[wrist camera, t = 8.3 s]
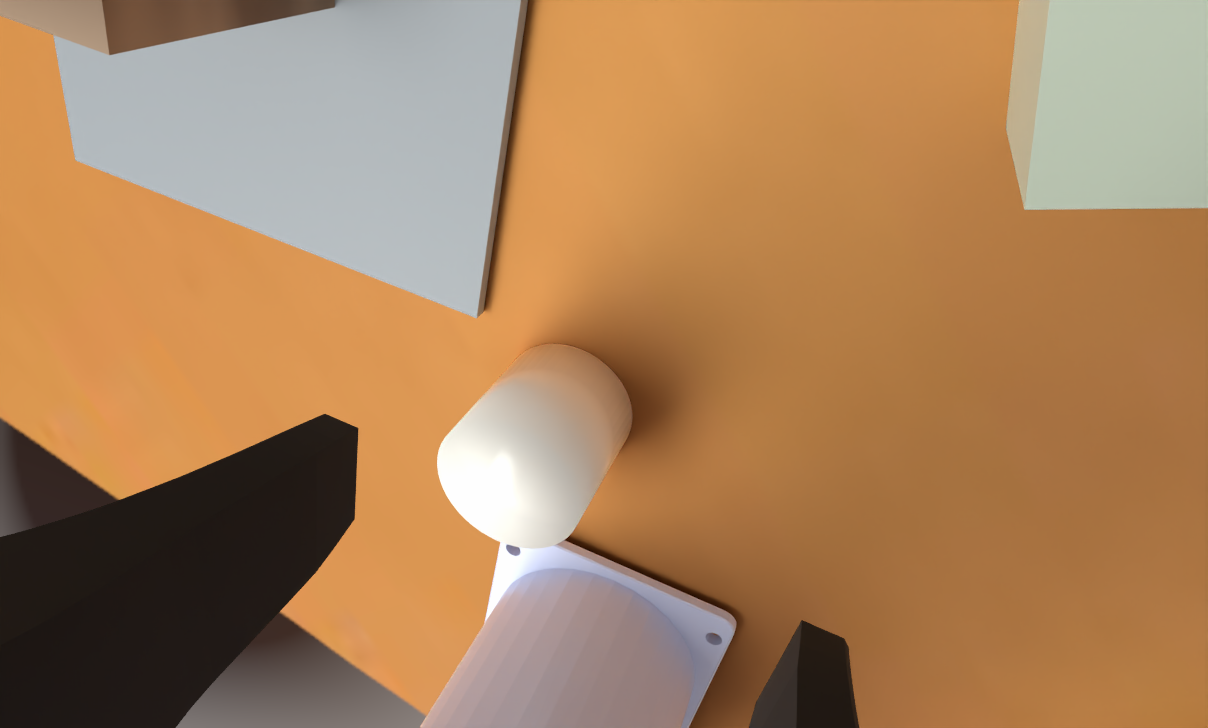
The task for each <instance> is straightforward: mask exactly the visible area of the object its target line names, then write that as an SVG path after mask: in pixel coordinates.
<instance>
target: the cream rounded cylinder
mask: <svg viewBox="0 0 1208 728" xmlns="http://www.w3.org/2000/svg"><path fill="white" fill-rule="evenodd" d="M631 426H632V407H631V403H630V399H629V396H628V394H627V391H626V390H625V388H624V386H623V384H622V382H621V381H620V380H619V378H618V377H617V376H616V374H615V373H614V372H613V371H612V370H611V369H610V368H609V367H608V366H607V365H606V364H605V363H603V362H602V361H601V360H599V359H598V358H597V357H595V356H593V355H592V354H590V353H588V352H586V351H584V350H582V349H579V348H576V347H573V346H569V345H564V344H543V345H538V346H535V347H532V348H530V349H528V350H526V351H524V352H523V353H522V354H520V355H519V356H518V357H517V358H516V359H515V360H514V361H513V363H512V364H511V365H510V366H509V367H508V368H507V369H506V370H505V371H504V373H503V374H502V375H501V376H500V377H499V378H498V379H497V380H496V381H495V383H494V384H493V385H492V386H491V387H490V388H489V389H488V390H487V391H486V393H485V394H484V395H483V396H482V397H481V398H480V399H479V400H478V401H477V403H476V404H475V405H474V406H473V407H472V408H471V409H470V410H469V411H468V413H467V414H466V415H465V416H464V417H463V418H462V419H461V420H460V421H459V423H458V424H457V425H456V426H455V427H454V428H453V429H452V430H451V431H450V432H449V434H448V435H447V436H446V437H445V439H444V440H443V442H442V444H441V446H440V448H439V452H438V458H437V467H438V474H439V478H440V482H441V484H442V487H443V489H444V491H445V493H446V495H447V497H448V498H449V500H450V502H451V503H452V505H453V506H454V507H455V508H456V510H457V511H458V512H459V513H460V514H461V515H462V516H463V517H464V518H465V519H466V520H467V521H468V522H469V523H470V524H471V525H473V526H474V527H475V528H477V529H478V530H479V531H481V532H483V533H484V534H486V535H487V536H489V537H491V538H493V539H495V540H497V541H500V542H502V543H505V544H508V545H512V546H515V547H521V548H529V549H537V548H545V547H550V546H553V545H556V544H558V543H560V542H562V541H563V540H565V539H566V538H567V537H569V535H570V534H571V533H572V532H573V531H574V529H575V528H576V526H577V524H578V522H579V521H580V519H581V517H582V516H583V514H584V512H585V510H586V509H587V507H588V505H589V503H590V502H591V500H592V498H593V496H594V495H595V493H596V491H597V489H598V488H599V486H600V484H601V483H602V481H603V479H604V477H605V476H606V474H607V472H608V470H609V469H610V467H611V465H612V463H613V462H614V460H615V458H616V457H617V455H618V453H619V451H620V450H621V448H622V446H623V444H624V443H625V441H626V439H627V437H628V435H629V433H630V430H631Z"/></svg>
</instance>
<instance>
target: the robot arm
mask: <svg viewBox="0 0 1208 728" xmlns="http://www.w3.org/2000/svg"><path fill="white" fill-rule="evenodd" d="M357 446H358V428H357V427H354V426H352V425H350V424H347V423H345V422H343V421H340V420H338V419H336V418H333V417H331V416H329V415H327V414H323V415H321V416H319V417H316V418H314V419H312V420H309V421H307V422H305V423H302V424H300V425H298V426H296V427H293V428H291V429H289V430H287V431H284V432H282V433H280V434H278V435H275V436H273V437H271V438H269V439H266V440H264V441H262V442H260V443H257V444H255V445H253V446H251V447H248V448H246V449H244V450H242V451H239V452H237V453H235V454H233V455H230V456H228V457H226V458H223V459H221V460H219V461H216V462H214V463H212V464H209V465H207V466H205V467H202V468H200V469H197V470H195V471H193V472H190V473H188V474H186V475H183V476H181V477H178V478H176V479H173V480H171V481H168V482H165V483H163V484H160V485H158V486H155V487H152V488H150V489H147V490H145V491H142V492H139V493H137V494H134V495H132V496H129V497H126V498H124V499H121V500H119V501H116V502H113V503H111V504H107V505H105V506H102V507H99V508H96V509H93V510H90V511H87V512H84V513H81V514H78V515H75V516H72V517H68V518H65V519H62V520H59V521H55V522H52V523H49V524H46V525H42V526H39V527H36V528H32V529H29V530H26V531H22V532H18V533H15V534H11V535H7V536H3V537H0V728H176V726H177V725H178V724H179V722H180V721H181V720H182V719H183V717H184V716H185V715H186V713H187V712H188V711H189V710H190V708H191V707H192V706H193V705H194V704H195V702H196V701H197V700H198V699H199V698H200V697H201V696H202V694H203V693H204V692H205V691H206V690H207V688H209V686H210V685H211V684H212V683H213V682H214V681H215V680H216V678H218V676H219V675H220V674H221V673H222V672H223V671H224V670H225V669H226V668H227V667H228V666H229V665H230V664H231V663H232V662H233V660H234V659H235V658H236V657H237V656H238V655H239V654H240V653H241V652H242V651H243V650H244V649H245V648H246V647H247V646H248V645H249V644H250V642H251V641H252V640H253V639H254V638H255V637H256V636H257V635H258V634H259V633H260V632H261V631H262V630H263V629H264V628H265V627H266V625H267V624H268V623H269V622H270V621H271V620H272V619H273V618H274V617H275V616H276V615H277V614H278V613H279V612H280V611H281V610H282V608H283V607H284V606H285V605H286V604H287V603H288V602H289V601H290V600H291V599H292V598H293V597H294V595H295V594H296V593H297V592H298V591H299V590H300V589H301V588H302V587H303V586H304V585H305V584H306V583H307V581H308V580H309V579H310V578H311V577H312V576H313V575H314V574H315V573H316V571H317V570H318V569H319V567H320V566H321V565H322V563H323V562H324V561H325V559H326V558H327V557H328V555H329V554H330V553H331V551H332V550H333V549H334V547H335V546H336V545H337V543H338V542H339V540H340V539H341V537H342V536H343V535H344V533H345V532H346V530H347V529H348V528H349V526H350V525H351V523H352V522H353V520H354V519H355V495H356V470H357ZM736 624H737V623H736V620H735V618H734V617H733V616H732V615H731V614H730V613H728V612H727V611H725V610H723V609H720V608H718V607H716V606H713V605H711V604H709V603H707V602H704V601H702V600H700V599H697V598H695V597H693V596H691V595H688V594H686V593H684V592H681V591H679V590H677V589H675V588H672V587H670V586H668V585H665V584H663V583H661V582H659V581H656V580H654V579H652V578H649V577H647V576H645V575H643V574H640V573H638V572H636V571H634V570H631V569H629V568H627V567H624V566H622V565H620V564H618V563H615V562H613V561H611V560H608V559H606V558H604V557H602V556H599V555H597V554H595V553H592V552H590V551H588V550H586V549H583V548H581V547H579V546H576V545H574V544H572V543H570V542H567V541H565V540H563V541H562V542H560V543H558V544H556V545H553V546H550V547H545V548H537V549H529V548H521V547H515V546H512V545H508V544H505V543H502V542H500V547H499V552H498V557H497V562H496V567H495V573H494V578H493V583H492V588H491V593H490V598H489V603H488V608H487V613H486V618H485V623H484V625H483V627H482V628H481V630H480V632H479V633H478V635H477V636H476V638H475V640H474V641H473V643H472V644H471V646H470V648H469V649H468V651H467V652H466V654H465V656H464V657H463V659H462V660H461V662H460V664H459V665H458V667H457V668H456V670H455V672H454V673H453V675H452V676H451V678H450V680H449V681H448V683H447V684H446V686H445V688H444V689H443V691H442V692H441V694H440V696H439V697H438V699H437V701H436V702H435V704H434V705H433V707H432V709H431V710H430V712H429V713H428V715H427V717H426V718H425V720H424V721H423V723H422V725H421V726H420V728H689V726H690V724H691V722H692V720H693V718H694V716H695V714H696V712H697V710H698V707H699V705H700V703H701V701H702V699H703V697H704V695H705V693H706V691H707V689H708V687H709V685H710V683H711V681H712V679H713V677H714V675H715V672H716V670H717V668H718V666H719V664H720V662H721V660H722V658H723V656H724V654H725V652H726V650H727V648H728V646H729V644H730V642H731V640H732V637H733V635H734V632H735V629H736ZM713 633H715V634H717V635H714V634H713ZM718 635H719V636H718ZM749 728H859V724H858V718H857V712H856V706H855V699H854V692H853V685H852V677H851V669H850V659H849V648H848V645H847V643H846V641H845V639H844V638H842V637H839V636H837V635H835V634H832V633H830V632H828V631H825V630H823V629H821V628H818V627H816V626H814V625H812V624H809V623H807V622H805V621H801V623H800V625H799V626H798V628H797V630H796V632H795V634H794V635H793V637H792V639H791V641H790V643H789V644H788V646H787V648H786V650H785V652H784V653H783V655H782V657H781V659H780V661H779V662H778V664H777V666H776V668H775V670H774V671H773V673H772V675H771V677H770V679H769V680H768V682H767V684H766V686H765V687H764V689H763V691H762V693H761V695H760V696H759V698H758V700H757V702H756V705H755V708H754V712H753V715H752V719H751V722H750V726H749Z"/></svg>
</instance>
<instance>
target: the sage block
mask: <svg viewBox="0 0 1208 728" xmlns="http://www.w3.org/2000/svg"><path fill="white" fill-rule="evenodd" d="M1006 131H1007V136H1008V140H1009V144H1010V149H1011V153H1012V157H1013V162H1014V166H1015V171H1016V175H1017V179H1018V184H1019V188H1020V193H1021V197H1022V201H1023V206H1024V210H1047V209H1156V208H1208V0H1019V7H1018V16H1017V26H1016V35H1015V45H1014V55H1013V64H1012V74H1011V83H1010V93H1009V102H1008V112H1007V121H1006Z"/></svg>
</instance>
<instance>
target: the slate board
mask: <svg viewBox="0 0 1208 728" xmlns="http://www.w3.org/2000/svg"><path fill="white" fill-rule="evenodd" d="M527 5H528V0H335V8H330V9H325V10H320V11H316V12H311V13H306V14H302V15H297V16H292V17H288V18H283V19H278V20H273V21H269V22H264V23H259V24H255V25H250V26H245V27H240V28H236V29H231V30H226V31H222V32H217V33H212V34H207V35H203V36H198V37H193V38H189V39H184V40H179V41H175V42H170V43H165V44H160V45H156V46H151V47H146V48H142V49H137V50H132V51H127V52H123V53H118V54H113V55H107V54H104V53H102V52H99V51H96V50H93V49H91V48H88V47H85V46H82V45H80V44H77V43H74V42H71V41H68V40H66V39H63V38H60V37H57V36H55V35H53V36H54V41H55V47H56V53H57V58H58V64H59V70H60V75H61V81H62V87H63V92H64V98H65V104H66V109H67V115H68V121H69V127H70V132H71V138H72V144H73V149H74V155H75V160H76V161H79V162H81V163H84V164H86V165H89V166H91V167H94V168H96V169H99V170H101V171H104V172H106V173H109V174H112V175H114V176H117V177H119V178H122V179H124V180H127V181H129V182H132V183H134V184H137V185H139V186H142V187H145V188H147V189H150V190H152V191H155V192H157V193H160V194H162V195H165V196H167V197H170V198H173V199H175V200H178V201H180V202H183V203H185V204H188V205H190V206H193V207H195V208H198V209H200V210H203V211H206V212H208V213H211V214H213V215H216V216H218V217H221V218H223V219H226V220H228V221H231V222H233V223H236V224H239V225H241V226H244V227H246V228H249V229H251V230H254V231H256V232H259V233H261V234H264V235H267V236H269V237H272V238H274V239H277V240H279V241H282V242H284V243H287V244H289V245H292V246H294V247H297V248H300V249H302V250H305V251H307V252H310V253H312V254H315V255H317V256H320V257H322V258H325V259H327V260H330V261H333V262H335V263H338V264H340V265H343V266H345V267H348V268H350V269H353V270H355V271H358V272H361V273H363V274H366V275H368V276H371V277H373V278H376V279H378V280H381V281H383V282H386V283H388V284H391V285H394V286H396V287H399V288H401V289H404V290H406V291H409V292H411V293H414V294H416V295H419V296H421V297H424V298H427V299H429V300H432V301H434V302H437V303H439V304H442V305H444V306H447V307H449V308H452V309H455V310H457V311H460V312H462V313H465V314H467V315H470V316H472V317H475V318H477V317H479V316H480V315H481V314H482V313H483V311H484V304H485V297H486V290H487V283H488V276H489V269H490V262H491V255H492V248H493V241H494V234H495V227H496V220H497V213H498V207H499V200H500V193H501V186H502V179H503V172H504V165H505V158H506V151H507V144H508V137H509V130H510V123H511V116H512V109H513V102H514V95H515V89H516V82H517V75H518V68H519V61H520V54H521V47H522V40H523V33H524V26H525V19H526V12H527Z"/></svg>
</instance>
